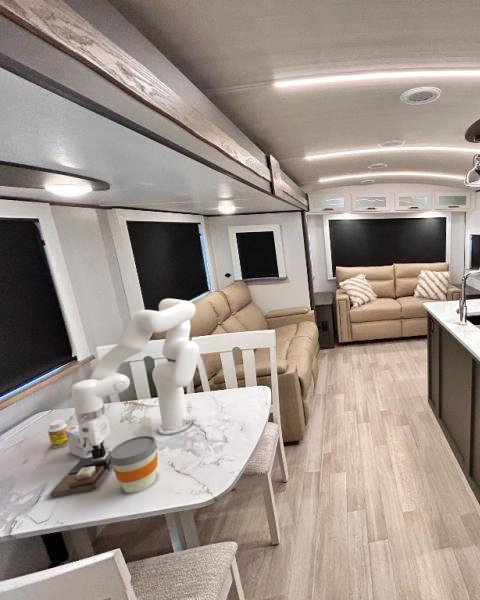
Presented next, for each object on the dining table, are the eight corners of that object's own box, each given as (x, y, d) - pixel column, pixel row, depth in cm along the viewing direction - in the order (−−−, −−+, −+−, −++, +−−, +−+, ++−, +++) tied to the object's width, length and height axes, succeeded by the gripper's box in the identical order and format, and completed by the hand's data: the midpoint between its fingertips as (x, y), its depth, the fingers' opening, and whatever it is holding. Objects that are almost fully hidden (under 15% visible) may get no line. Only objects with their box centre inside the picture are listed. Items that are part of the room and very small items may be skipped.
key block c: (120, 457, 125) (118, 448, 124) (109, 471, 118) (108, 462, 117) (82, 463, 121) (80, 454, 120) (68, 478, 114) (66, 469, 113)
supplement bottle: (49, 450, 128) (44, 427, 126) (54, 442, 133) (49, 420, 130) (68, 445, 131) (63, 423, 129) (72, 438, 136) (67, 417, 133)
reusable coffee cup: (152, 492, 109) (146, 455, 105) (108, 500, 105) (100, 462, 102) (167, 467, 120) (162, 432, 117) (128, 473, 117) (121, 438, 114)
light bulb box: (106, 449, 129) (101, 426, 127) (85, 460, 123) (80, 435, 121) (89, 443, 133) (85, 420, 130) (69, 453, 126) (63, 429, 124)
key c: (109, 456, 122) (108, 452, 121) (104, 463, 118) (103, 458, 118) (97, 458, 121) (97, 454, 120) (92, 465, 117) (91, 460, 117)
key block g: (108, 473, 117) (106, 464, 116) (96, 489, 109) (94, 479, 109) (66, 481, 113) (64, 471, 112) (51, 498, 105) (49, 488, 105)
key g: (95, 470, 113) (94, 465, 113) (90, 477, 110) (89, 472, 109) (83, 472, 112) (82, 467, 112) (77, 480, 109) (75, 475, 108)
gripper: (92, 422, 109) (100, 468, 113) (114, 401, 123) (121, 442, 127) (64, 426, 107) (74, 472, 111) (89, 404, 121) (98, 446, 125)
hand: (99, 456), depth 119 cm, fingers closed
